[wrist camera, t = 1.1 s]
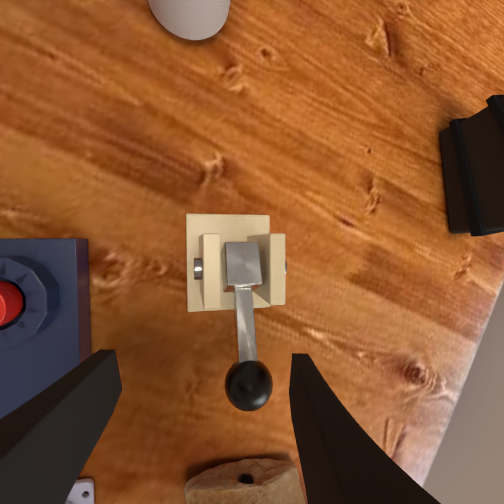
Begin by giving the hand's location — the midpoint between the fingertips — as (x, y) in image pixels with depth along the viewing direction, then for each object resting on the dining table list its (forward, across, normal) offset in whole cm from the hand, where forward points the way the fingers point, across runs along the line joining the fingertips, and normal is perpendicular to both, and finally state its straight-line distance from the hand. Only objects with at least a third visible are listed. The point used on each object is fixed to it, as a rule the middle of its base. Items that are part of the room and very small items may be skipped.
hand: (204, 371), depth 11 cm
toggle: (+7, -1, +2) cm, 7 cm away
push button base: (+8, +15, +5) cm, 18 cm away
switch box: (+13, 0, +1) cm, 13 cm away
